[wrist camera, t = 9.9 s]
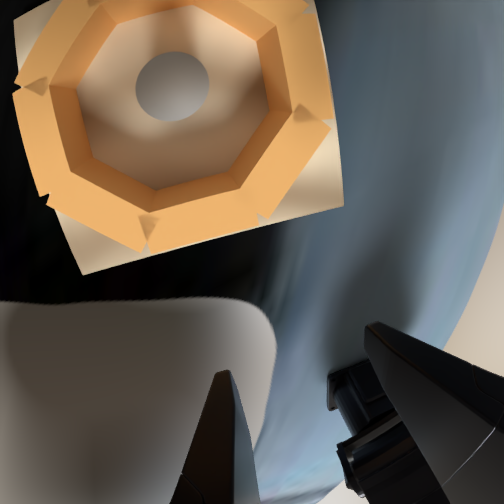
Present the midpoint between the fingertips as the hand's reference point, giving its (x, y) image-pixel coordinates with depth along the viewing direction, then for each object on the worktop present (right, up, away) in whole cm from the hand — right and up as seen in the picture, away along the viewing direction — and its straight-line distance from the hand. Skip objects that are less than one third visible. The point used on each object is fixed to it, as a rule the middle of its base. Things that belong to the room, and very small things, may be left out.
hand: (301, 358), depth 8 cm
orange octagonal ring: (-5, +11, +5) cm, 13 cm away
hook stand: (-5, +11, +6) cm, 14 cm away
